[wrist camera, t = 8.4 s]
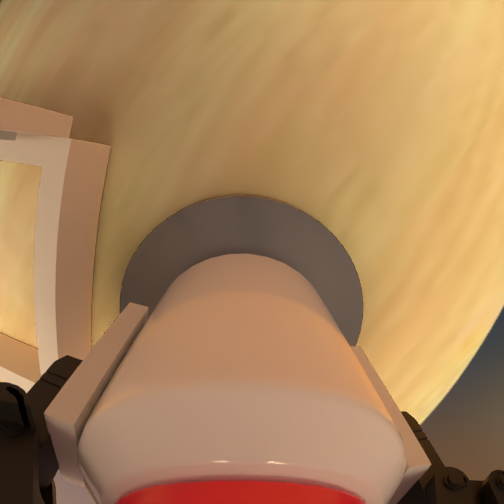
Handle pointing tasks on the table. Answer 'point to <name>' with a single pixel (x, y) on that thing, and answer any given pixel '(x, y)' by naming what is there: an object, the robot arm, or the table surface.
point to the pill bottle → (241, 400)
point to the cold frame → (55, 236)
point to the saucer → (247, 241)
